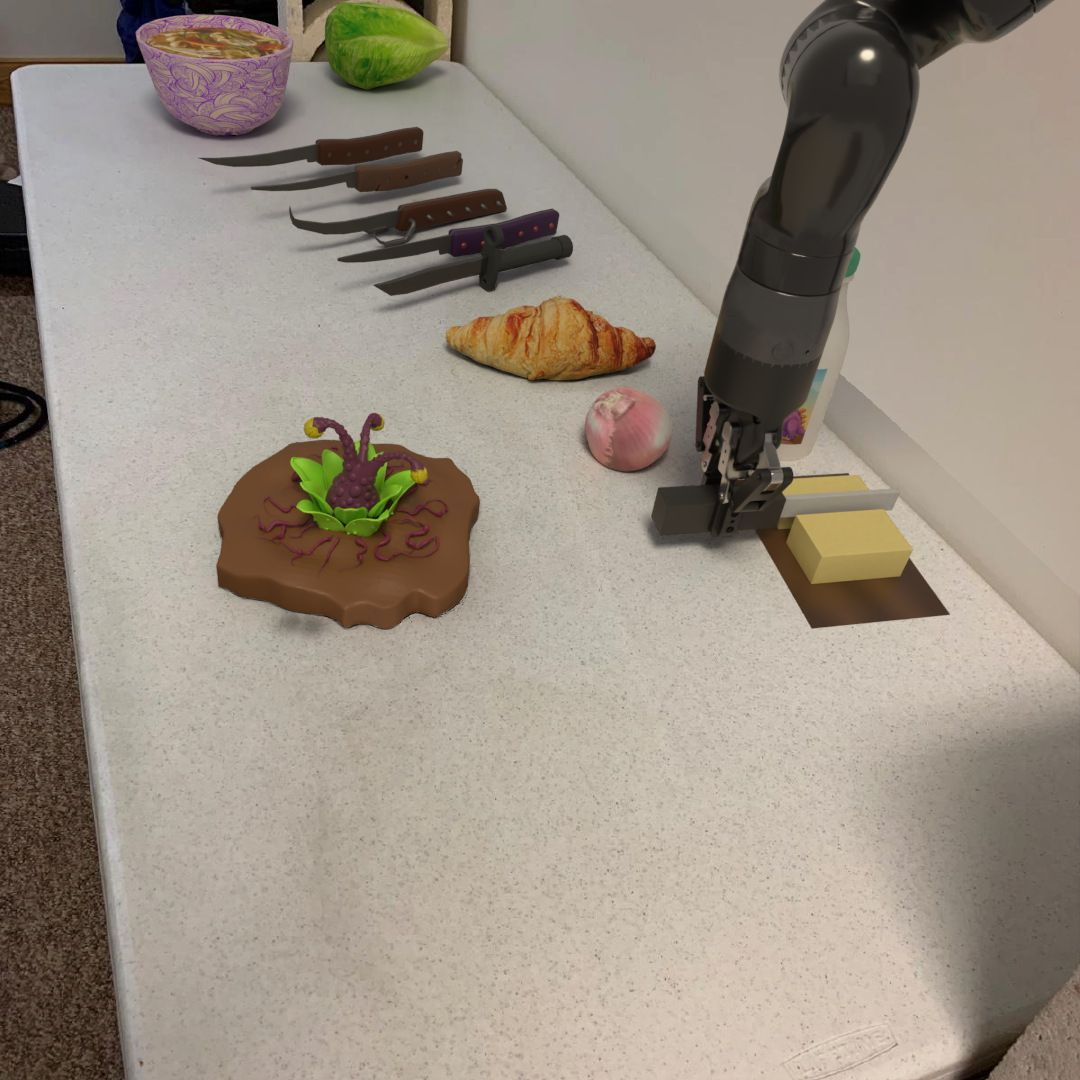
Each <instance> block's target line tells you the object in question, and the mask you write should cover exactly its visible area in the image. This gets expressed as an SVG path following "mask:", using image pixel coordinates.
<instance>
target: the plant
mask: <svg viewBox="0 0 1080 1080" xmlns="http://www.w3.org/2000/svg"><path fill="white" fill-rule="evenodd" d="M384 427H385V419H384V417H383V416H382V414H380V413H377V412H372V413H369V414H368V416H367V418H366V419H365V420H364V423H363V425H362V428H361V432H360V433H359V437H360V439H358V440H356V441H354V439H353V437H352V436H351V435H350V434H349V433H348V430H347V429H346V428H345V426H344V425H343V424H342V423H341V424H340V423H339V422H338V421H336V420H335V419H331V418H328V417H324V416H314V417H311V418H310V419H308V420H307V421H305V423H304V425H303V432H304V434H305V436H307V437H308V438H309V439H313V440H308V441H306V440H305V441H297V442H291V443H289V444H287V445H286V446H284V447H283V448H281V449H280V450H278V451H277V452H275V453H274V454H272V455H270V456H269V457H266V459H264V460H262V461H261V462H260V461H259V463H257V464H255V465H254V466H252V467H251V468H250V469H249V470H247V472H245V473H244V474H243V475H242V476H241V477H240V478H239V479H238V480H237V481H236V483H235V484H234V486H233V488H232V489H231V492H229V494H228V496H227V497H226V499H225V500H224V502H223V504H222V505H221V507H220V509H219V511H218V513H217V514H216V518H217V524H218V531H219V536H220V539H221V541H222V542H221V546H220V552H219V556H218V559H217V560H216V564H215V566H216V577H217V586H218V587H219V588H222V589H224V590H228V591H229V592H231V593H232V594H234V595H236V596H237V597H239V598H240V597H241V598H244V599H249V600H258V601H263V602H268V603H270V604H273V605H276V606H277V607H279V608H281V609H283V610H287V611H289V612H290V611H291V612H296V613H301V614H307V615H314V616H315V615H316V616H325V617H326V618H327V617H328V618H330V619H332V620H334V621H336V622H337V623H339V624H340V625H341V627H343V628H344V629H348V628H350V627H352V626H356V625H360V624H362V625H370V626H374V627H377V628H380V629H383V630H389V629H392V628H394V627H396V626H397V625H398V624H400V623H401V622H402V621H403V620H404V619H405V618H406V617H408V616H409V615H411V614H415V613H421V614H424V615H426V616H429V617H432V618H438V617H439V616H442V615H443V614H444V613H446V612H448V611H449V610H451V609H452V608H454V607H455V606H456V605H457V604H458V603H459V602H460V601H461V600H462V599H463V597H464V596H465V595H466V592H467V589H468V586H469V579H470V569H471V555H470V553H471V552H470V538H471V533H472V529H473V526H474V525H475V523H477V521H478V520H479V516H480V507H481V500H480V496H479V495H478V494H477V492H476V491H475V488H474V485H473V482H472V481H471V479H470V477H469V476H468V474H466V473H465V472H464V471H462V470H461V469H460V468H459V467H458V466H457V465H456V464H455V462H454V460H453V459H452V458H450V457H431V456H430V457H429V456H427V455H426V456H425V455H423V454H420V453H418V452H415V451H412V450H410V449H408V448H407V447H406V446H404V445H401V444H398V443H397V444H396V443H372V442H371V437H370V436H371V430H372V432H373V431H374V432H379V431H381V430H383V429H384ZM327 429H333V430H334V432H335V434H336V435H338V439H319V438H321V437H322V436H323V435H324V434H325V432H326V430H327Z"/></svg>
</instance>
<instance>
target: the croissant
mask: <svg viewBox="0 0 1080 1080" xmlns="http://www.w3.org/2000/svg"><path fill="white" fill-rule="evenodd" d="M444 334H445V342H446V343H447V344H448V345H449V346H450V347H451V348H452V349H453V350H455V351H457V352H459V354H462V355H464V356H467V357H469V358H471V360H473V361H475V362H477V363H480V364H483V365H486V366H490V367H493V368H495V369H497V370H499V371H502V372H507V373H510V374H512V375H515V376H518V377H522V378H525V379H528V380H529V381H535V380H536V381H537V380H542V379H545V380H550V381H571V380H580V379H584V378H589V377H592V376H598V375H603V374H609V373H610V374H611V373H615V372H619V371H623V370H628V369H631V368H634V367H635V366H637V365H639V364H641V363H643V362H645V361H646V360H648V359H650V358H651V357H652V356H653V355H654V354H655V352H656V349H657V345H656V342H655V339H653V338H651V337H649V336H645V337H641V336H638V335H637V334H635V332H634V331H633V330H631V329H629V328H626V327H624V326H614V325H612V324H611V323H610V322H609V321H608V320H607V319H605V318H604V317H603V316H601V315H599V314H596V313H594V311H593V310H586V309H585V308H584V306H582V304H580V302H579V301H577V300H576V299H574V298H569V297H564V296H561V295H559V296H558V295H557V296H553V297H551V298H548V299H545V300H543V301H542V302H541V303H540V304H539V305H536V306H534V305H522V306H517V307H513V308H509V310H507V311H506V312H505V313H503V314H497V315H495V316H494V315H493V316H479V317H478V318H475V319H473V320H471V321H469V322H467V323H466V324H465V325H464V326H463V325H455V326H450V327H448V329H447V330H446V331H445V333H444Z"/></svg>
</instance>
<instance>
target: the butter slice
mask: <svg viewBox="0 0 1080 1080" xmlns="http://www.w3.org/2000/svg"><path fill="white" fill-rule="evenodd" d="M864 490H870V488H869V487H868V485H867V484H866V483H865V481H864V480H863V479H862V477H861V476H860V474H849V475H846V476H829V477H812V478H796V479H793V481H792V483H791V484H790V485H789V486H788V487H787V488H786V489H785V490H784V491H783V492H782V493H783V495H799V494H816V493H832V492H848V491H864ZM794 519H795V517H784V518H780V519H779V522H778V525H777V528H778V529H791V528H792V525H793V522H794Z"/></svg>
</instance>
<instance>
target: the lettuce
mask: <svg viewBox="0 0 1080 1080" xmlns="http://www.w3.org/2000/svg"><path fill="white" fill-rule="evenodd" d="M449 41H450V40H449V38H448V37H447V35H446V34H445V32H443V31H442V30H441V29H440V28H439V27H437V26H436V25H435V24H434V23H432V22H431V21H429V20H427V18H425V17H423V16H420V15H418V14H417V13H414V12H412V11H410V10H407V9H404V8H401V7H397V6H394V5H389V4H388V5H387V4H381V3H376V2H370V1H365V2H364V1H363V2H349V1H340V2H338V4H337V5H335V7H334V8H333V9H332V10H331V11H330V12H329V13H328V14H327V16H326V19H325V24H324V45H325V51H326V57H327V60H328V63H329V66H330V68H331V70H332V72H333V73H335V74H336V75H337V76H338V77H339V78H340V79H341V80H343V81H344V82H345V83H346V84H349V85H352V86H354V87H357V88H360V89H362V90H365V91H368V90H372V89H375V88H379V87H382V86H387V85H392V84H395V83H396V84H397V83H399V82H404V81H406V80H408V79H410V78H413V77H414V76H416V75H418V74H420V73H421V72H422V71H423V70H425V69H426V68H427V67H428V66H430V65H431V64H432V63H433V62H435V61H437V60H438V59H439V58H440V57H442V56H443V55H444V54H446V52H447V51H448V50H449V48H450V42H449Z"/></svg>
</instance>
